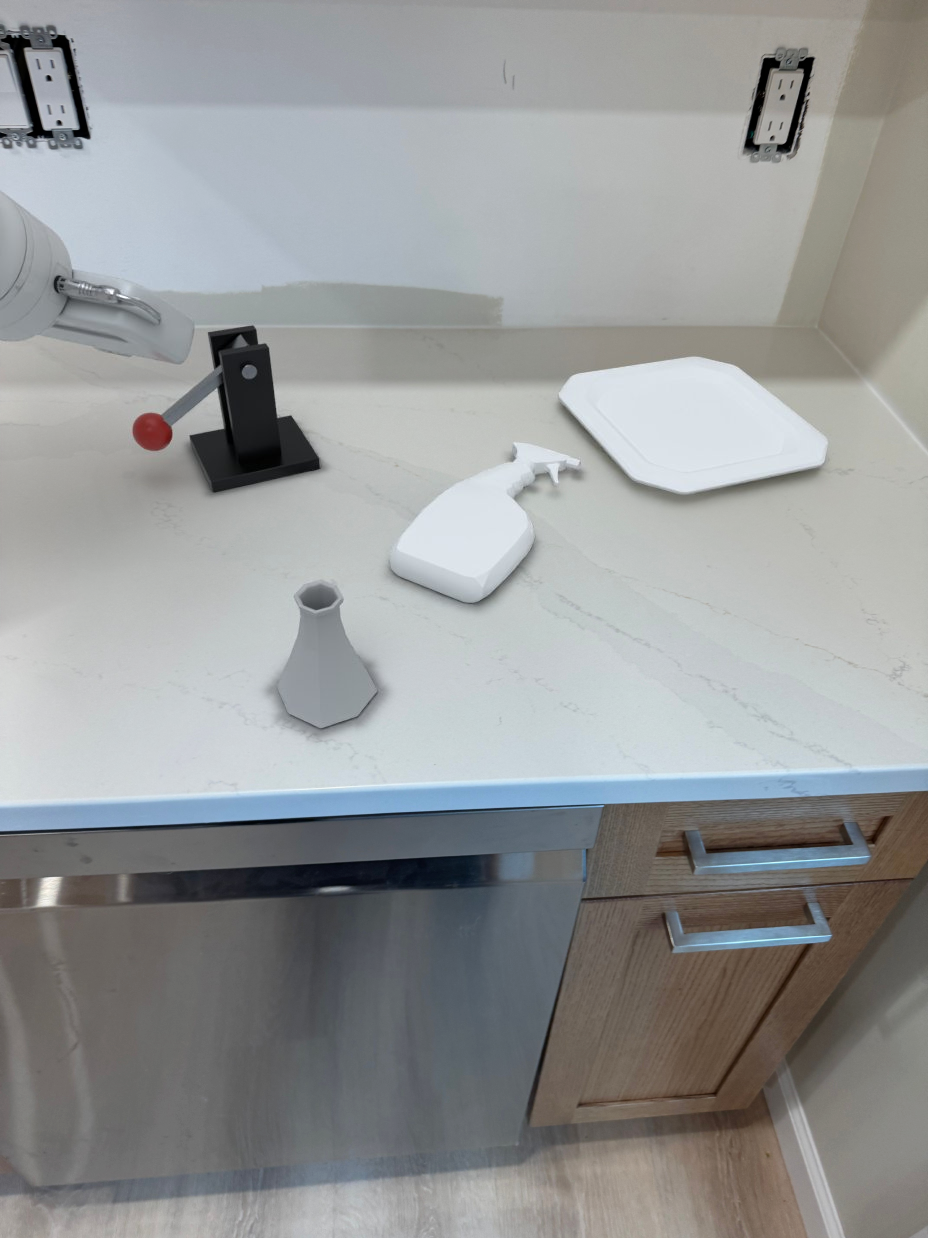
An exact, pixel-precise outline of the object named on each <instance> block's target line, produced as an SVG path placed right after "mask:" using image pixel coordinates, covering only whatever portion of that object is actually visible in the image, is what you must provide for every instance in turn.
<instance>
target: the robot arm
mask: <svg viewBox="0 0 928 1238" xmlns="http://www.w3.org/2000/svg"><path fill="white" fill-rule="evenodd" d="M71 260H72V259H71V257H70V254H69V251H68V248H67V246H66V244H65V243H64V241H63V240H62V239H61V237H60V236H59V235H58V233H56V232H55V231H54V230H53V229H52V228H51V227H49V226H48V225H47V224H45V223H44V222H43V221H41V220H40V219H39V218H38V217H36V216H35V215H34V214H32V213H31V212H30V211H28V210H27V209H25V208H24V207H23V206H21V205H20V204H19V203H18V202H16V201H15V200H14V199H13V198H11V197H10V196H9V195H8V194H6V193H5V192H3V191H2V190H0V341H1V342H7V343H15V342H21V341H26V340H28V339H31V338H34V337H36V336H40V337H43V338H44V337H45V338H50V339H54V340H59V341H62V342H63V341H64V342H68V343H73V344H78V345H81V346H87V347H92V348H94V349H95V350H97V351H98V352H101V353H102V352H103V353H107V354H113V355H117V356H122V357H127V358H131V357H132V356H135V357H139V358H145V359H149V360H153V361H157V362H163V363H168V364H172V365H182V364H184V363H185V361H186V360H187V358H188V357H189V354H190V351H191V347H192V345H193V340H194V336H195V322H194V320H193V318H192V317H191V316H190V315H188V314H186V313H185V312H184V311H183V310H181V309H180V308H178V307H177V306H176V305H174V304H172V303H171V302H169V301H168V300H166V299H165V298H163V297H162V296H160V295H158V294H157V293H155V292H154V291H152V290H151V289H148V288H147V287H144V285H143V286H142V285H140V284H139V283H136V282H133V281H130V280H127V279H123V278H119V277H116V276H115V277H114V276H109V275H105V274H101V273H100V274H99V273H94V272H89V271H83V270H78V269H73V266H72V261H71Z"/></svg>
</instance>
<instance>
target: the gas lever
mask: <svg viewBox="0 0 928 1238" xmlns="http://www.w3.org/2000/svg"><path fill="white" fill-rule="evenodd" d="M245 346H251V345H250V344H249V343H248V342H247V341H246V340H245V339H244V338H243V336H242V335H239V336H238V337H237V338H236V339H235V340H233V341H232V342H231V343H230V344H229V345H227V346H226V347H225V348H224V349H223V350H227V349H233V348H239V347H245ZM218 354H219V353H218ZM223 382H224V381H223V374H222V368H221V365H220V366H218V367H217V368H216V369H215V370H214V369H213V370H212V371H211V372H210V373H208V375H206V376H205V377H204V378H203V379H201V381H199V382H198V383H197V384H196V385H195V386H194V387H192V388H191V389H189V390H188V391H187V392H186V393H185V394H184V395H182V396H181V397H180V398H179V399H178V400H176V402H174V403H173V404H172V405H171V406H169V408H167V409H166V410H165V411H164V412H163V413H161V414H159V413H157V412H153V411H151V412H145V413H141V414H140V415H139V416H137V417H136V418H135V420H134V421H133V424H132V429H131V431H132V436H133V440H134V441H135V443H136V444H137V445H138V446H139V447H140V448H142V449H144V450H146V451H150V452H160V451H162V450H164V449H166V448H167V447H168V446H169V445H170V444H171V442H172V440H173V436H174V435H173V434H174V433H173V428H172V426H173V425H175V424H176V423H177V422H178V421H180V420H181V419H182V418H183V417H184V416H185V415H187V414H188V413H189V412H190V411H192V409H194V408H195V407H196V406H197V405H199V403H201V402H202V401H203V400H205V399H206V398H207V397H208V396H209V395H210V394H211V393H213V392H214V391H215V390H216V389H217V387H219V386H220V385H221V384H222V383H223Z"/></svg>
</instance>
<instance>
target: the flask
mask: <svg viewBox="0 0 928 1238" xmlns="http://www.w3.org/2000/svg"><path fill="white" fill-rule="evenodd" d="M293 598H294V601H295V603H296V605H297V607H298V609H299V616H300V617H299V625H298V629H297V630H298V631H297V635H296V638H295V640H294V644H293V646H292V649H291V652H290V654H289V657H288V659H287V662H286V664H285V666H284V669H283V670H282V673H281V675H280V677H279V680H278V683H277V686H276V687H277V690H278V692H279V694H280V698H281V700H282V701H283V704H284V706H285V709H286V711H287V713H288V714H289V715H292V716H293V717H295V718H297V719H300V720H301V721H304V722H306V723H308V724H310V725H312V726H314V727H316V728H318V729H323V728H327V727H330V726H332V725H335V724H338V723H340V722H341V723H342V722H344V721H348V720H350V719H353V718H356V717H358V716H359V715H360V714H361V712H362V711H363V710H364V709H365V707H367V705H368V703H369V702H370V701H371V700H372V699H373V697H374V696H375V695H376V693H377V692H378V688H377V687H376V685H375V684H374V682H373V679H372V678H371V675H370V674H369V672H368V670H367V668H366V666H365V664H364V663H363V660H362V659H361V658H360V655H359V654H358V653H357V651H356V649H355V648H354V646H353V645H352V643H351V642H350V640H349V638H348V635H347V634H346V630H345V628H344V624H343V622H342V618H341V605H342V604H343V603H344V598H345V597H344V596H343V594H342V591H341V590H340V589H339V586H338V585H336V584H334V583H331V582H329V581H326V580H324V579H318V580H315V581H312V582H308V583H304V584H303V585H302V586H301V587H300V588H299V589H298V590H297V591H296V592H295V593H294V594H293Z"/></svg>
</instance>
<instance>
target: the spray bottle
mask: <svg viewBox="0 0 928 1238" xmlns="http://www.w3.org/2000/svg"><path fill="white" fill-rule="evenodd" d="M511 454H512V455H513V456H514V457H515V459H514V460H513V461H506V462H504V463H501V464H498V465H496V466H493V467H490V468H487V469H485V470H483V471H481V472H478V473H477V474H474V475H473V476H471V477H469V478H466V479H464V480H460V481H458V482H456V483H454V484H452V486H450V487H448V488H447V489H445V490H444V491H442V492H441V493H440V494H438V496H436V497H435V498H434V499H432V501H431V502H429V503H428V504H427V505H426V506H425V507H424V508H423V509H421V510H420V511H419V512H418V514H417V515H416V516H415V517H414V519H412V521H411V522H410V524H409V525H407V527H406V528H405V530H404V531H403V532H402V534H401V535H400V536H399V537H398V538H397V540H396V541H395V542H394V543H393V544H392V546H391V547H390V551H389V554H388V561H389V565H390V569H391V571H392V572H393V573H394V574H396V576H398V577H399V578H402V579H403V580H404V579H405V580H406V581H409V582H412V583H415V584H417V585H420V586H422V587H424V588H427V589H430V590H432V591H434V592H437V593H440V594H442V595H445V596H447V597H449V598H452V599H455V600H457V601H460V602H462V603H466V604H467V603H468V604H469V603H470V604H474V603H478V602H480V601H482V600H483V599H484V598H486V597H488V596H489V595H491V594H492V592H494V591H495V590H496V589H497V588H498V587H499V586H500V585H501V584H502V583H503V582H504V581H505V580H506V579H507V578H508V577H509V576H510V575H511V573H512V572H513V571H514V570H515V569H516V568H517V567H518V566H519V564H520V563H521V562H522V561H523V560H524V558H525V557H526V556H527V555H528V554H529V552H530V550H531V548H532V547H533V545H534V541H535V538H536V534H535V529H534V524H533V523H532V521H531V519H530V517H529V515H528V514H527V512H526V511H525V510H524V509H523V507H521V506H520V505H519V504H518V503H517V502H516V500H515V499H516V496H517V495H519V494H520V493H522V492H523V489H524V488H526V487H527V488H528V487H529V486H531V485H532V484H533V483H534V482H535V479H536V475H540V474H544V473H545V474H546V473H549V476H550V478H551V481H552V483H553V485H554V486H555V487H559V484H560V483H559V478H558V476H559V474H558V473H559V472H563V471H564V470H566V469H567V468H568V469H571V470H574V471H579V469H580V467H581V464H582V460H579V459H577V458H574V457H571V455H569V454H565V453H562V452H558V451H555V450H552V449H549V448H546V447H542V446H539V445H536V444H533V443H526V442H515V441H513V442H512V446H511Z"/></svg>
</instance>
